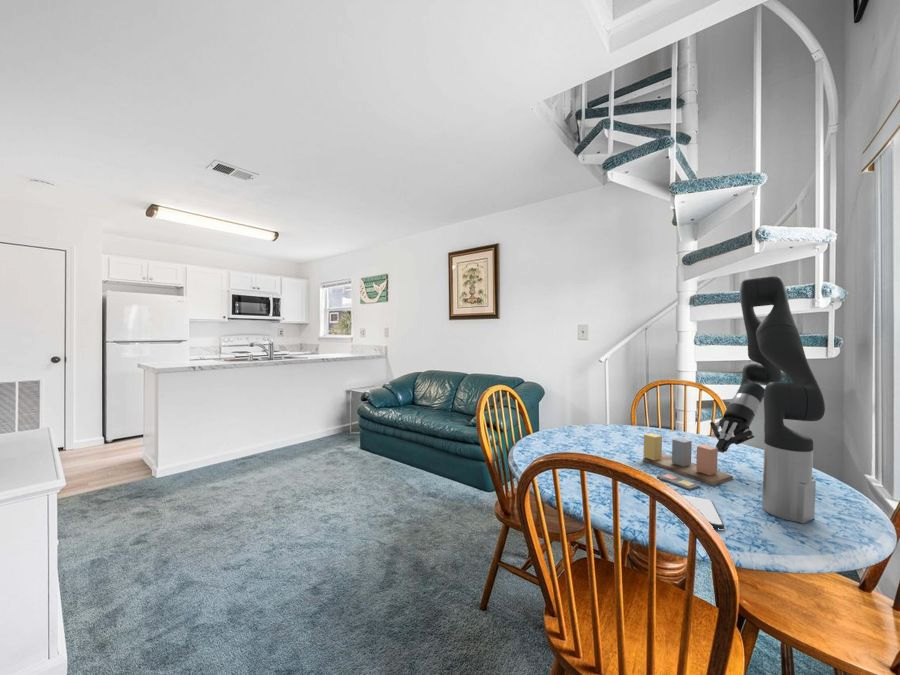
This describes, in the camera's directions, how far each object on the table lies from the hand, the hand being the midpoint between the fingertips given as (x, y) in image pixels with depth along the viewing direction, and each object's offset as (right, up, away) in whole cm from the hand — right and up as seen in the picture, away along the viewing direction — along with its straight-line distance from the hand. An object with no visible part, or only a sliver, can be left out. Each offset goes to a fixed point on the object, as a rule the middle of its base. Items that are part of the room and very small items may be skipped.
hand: (720, 450), depth 123 cm
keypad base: (-10, -7, +3) cm, 12 cm away
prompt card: (-18, -7, -8) cm, 21 cm away
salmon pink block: (-6, -6, -3) cm, 9 cm away
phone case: (-24, -8, -26) cm, 37 cm away
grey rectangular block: (-10, -6, +4) cm, 12 cm away
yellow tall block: (-17, -5, +10) cm, 20 cm away
